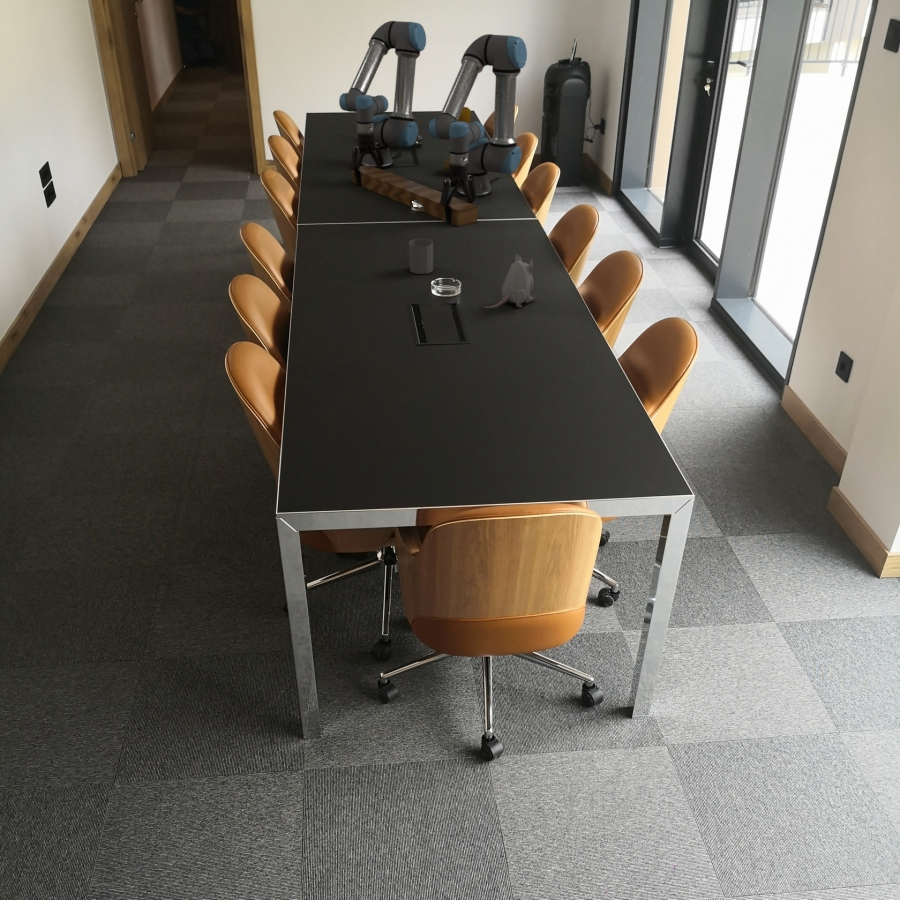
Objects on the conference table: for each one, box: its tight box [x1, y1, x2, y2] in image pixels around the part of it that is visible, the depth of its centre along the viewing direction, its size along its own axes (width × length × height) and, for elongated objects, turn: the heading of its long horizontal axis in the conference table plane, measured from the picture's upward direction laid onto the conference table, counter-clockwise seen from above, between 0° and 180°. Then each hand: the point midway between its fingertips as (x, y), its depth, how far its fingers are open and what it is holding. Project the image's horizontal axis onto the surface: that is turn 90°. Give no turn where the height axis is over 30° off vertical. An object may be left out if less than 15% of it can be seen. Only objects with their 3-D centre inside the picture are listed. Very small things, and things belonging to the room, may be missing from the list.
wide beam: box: [350, 165, 478, 227], centre depth 376 cm, size 80×10×6 cm, turn 38°
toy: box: [483, 253, 535, 309], centre depth 276 cm, size 9×24×15 cm, turn 137°
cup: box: [408, 237, 434, 275], centre depth 305 cm, size 8×8×10 cm
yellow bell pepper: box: [458, 106, 472, 123], centre depth 487 cm, size 11×11×13 cm
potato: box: [443, 156, 451, 174], centre depth 412 cm, size 10×14×8 cm
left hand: (368, 182), depth 400 cm, fingers closed on wide beam, 10 cm apart
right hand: (458, 219), depth 355 cm, fingers closed on wide beam, 10 cm apart
